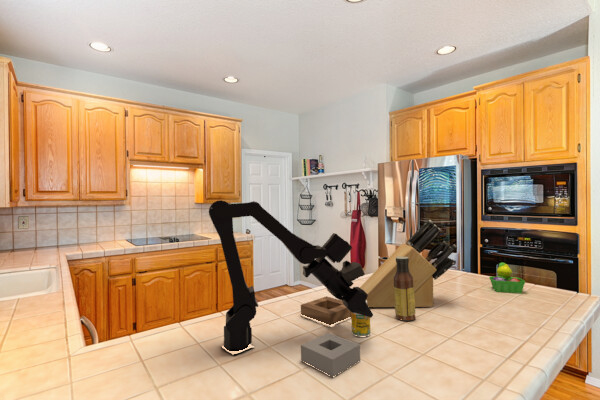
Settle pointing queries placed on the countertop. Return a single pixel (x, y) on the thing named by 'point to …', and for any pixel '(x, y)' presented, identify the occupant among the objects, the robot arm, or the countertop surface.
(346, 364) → the grey narrow collar
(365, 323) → the supplement bottle
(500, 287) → the fruit basket
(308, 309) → the walnut sleeve block
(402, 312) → the sauce bottle
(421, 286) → the knife block
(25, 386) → the countertop surface
